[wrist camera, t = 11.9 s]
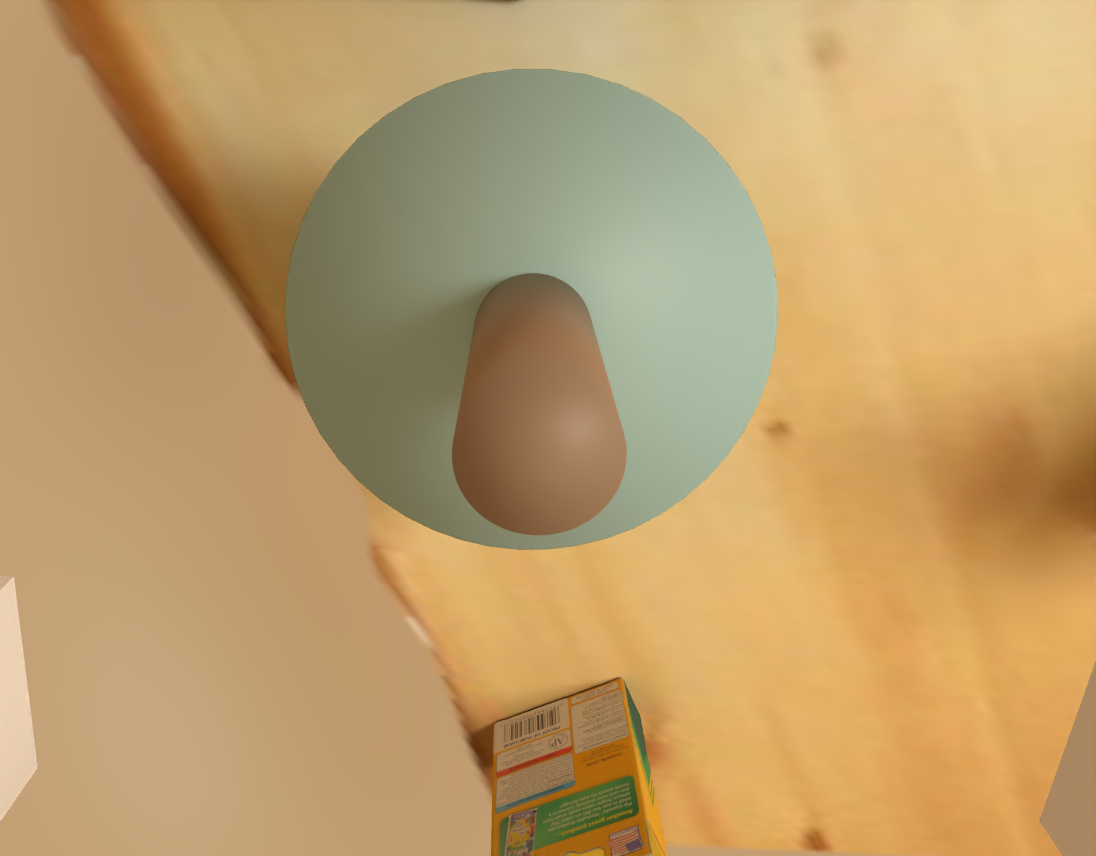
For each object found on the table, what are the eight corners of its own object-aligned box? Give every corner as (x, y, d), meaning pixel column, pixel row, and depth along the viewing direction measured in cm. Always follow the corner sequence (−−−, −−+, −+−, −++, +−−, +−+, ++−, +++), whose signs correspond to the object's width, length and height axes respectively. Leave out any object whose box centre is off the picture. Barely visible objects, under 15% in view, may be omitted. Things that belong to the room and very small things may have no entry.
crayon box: (514, 764, 50) (512, 957, 39) (491, 722, 49) (483, 907, 38) (642, 719, 49) (677, 903, 38) (622, 675, 48) (652, 851, 37)
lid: (287, 49, 27) (137, 34, 16) (804, 89, 27) (979, 99, 17) (299, 521, 32) (191, 740, 22) (732, 544, 33) (832, 765, 22)
